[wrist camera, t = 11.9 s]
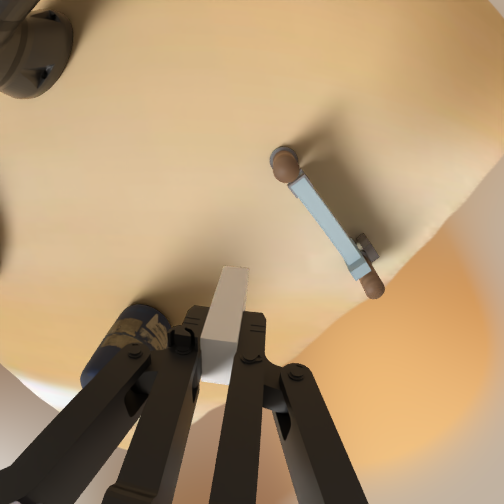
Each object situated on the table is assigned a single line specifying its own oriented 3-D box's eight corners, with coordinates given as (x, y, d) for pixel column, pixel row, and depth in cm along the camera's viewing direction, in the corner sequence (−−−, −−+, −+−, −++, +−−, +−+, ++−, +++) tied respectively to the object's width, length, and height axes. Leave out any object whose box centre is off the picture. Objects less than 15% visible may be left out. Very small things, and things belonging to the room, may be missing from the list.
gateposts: (264, 158, 37) (261, 167, 29) (291, 136, 35) (296, 140, 28) (355, 275, 42) (369, 306, 35) (380, 258, 41) (398, 287, 34)
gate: (285, 177, 37) (288, 190, 30) (299, 166, 37) (305, 177, 30) (343, 254, 41) (355, 281, 34) (356, 245, 40) (371, 270, 33)
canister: (185, 335, 49) (154, 421, 33) (146, 351, 51) (110, 428, 35) (150, 291, 46) (100, 372, 29) (112, 311, 48) (62, 384, 32)
